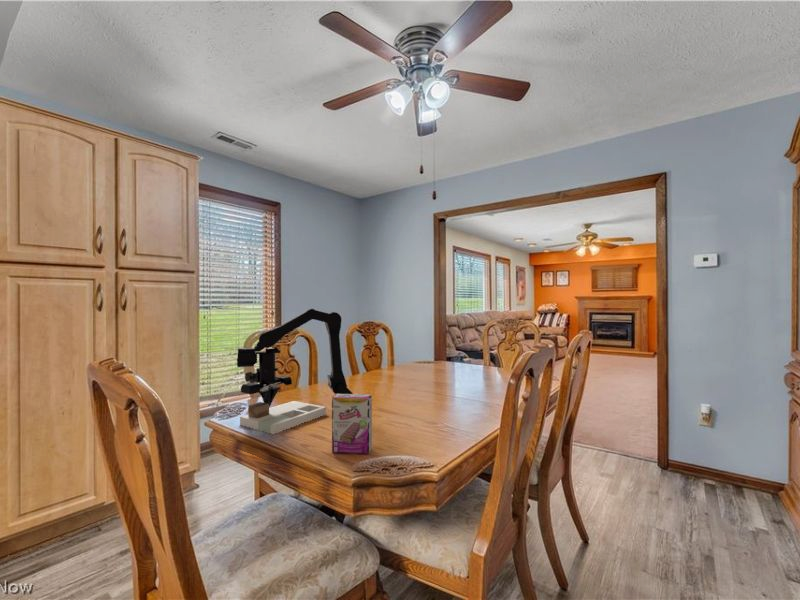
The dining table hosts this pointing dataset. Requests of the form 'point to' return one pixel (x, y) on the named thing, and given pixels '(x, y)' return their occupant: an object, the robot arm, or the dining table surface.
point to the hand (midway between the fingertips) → (267, 407)
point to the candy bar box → (352, 423)
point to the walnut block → (258, 410)
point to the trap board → (284, 417)
